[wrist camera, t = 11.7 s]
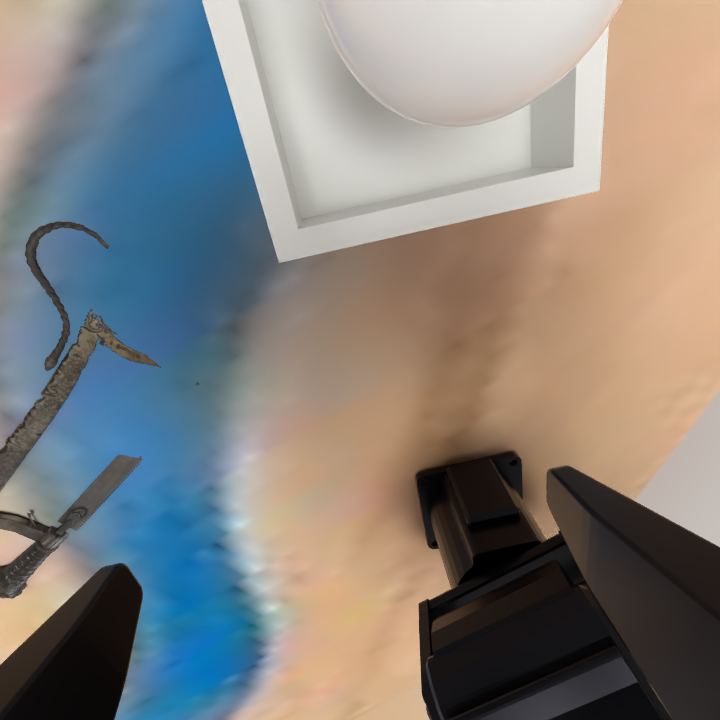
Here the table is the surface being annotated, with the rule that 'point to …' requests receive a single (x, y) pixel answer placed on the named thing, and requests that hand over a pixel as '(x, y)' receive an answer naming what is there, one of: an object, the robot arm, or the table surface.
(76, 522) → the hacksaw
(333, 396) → the table surface
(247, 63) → the tray
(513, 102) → the lightbulb
